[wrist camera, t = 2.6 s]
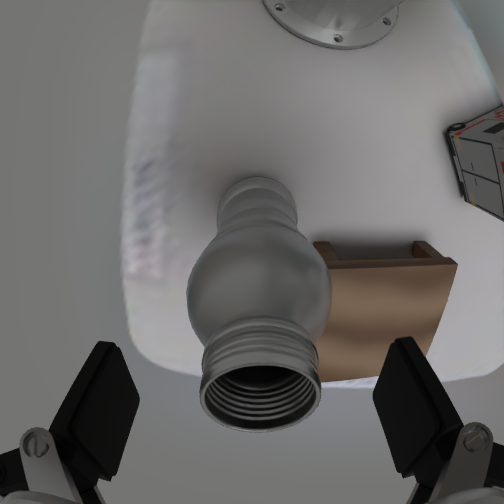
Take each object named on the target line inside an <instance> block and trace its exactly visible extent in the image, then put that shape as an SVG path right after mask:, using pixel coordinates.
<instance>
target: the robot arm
mask: <svg viewBox="0 0 504 504" xmlns="http://www.w3.org/2000/svg"><path fill="white" fill-rule="evenodd" d="M403 1H405V0H263V2H264V4H265V6H266V7H267V9H268V11H269V12H270V13H271V15H272V16H273V17H274V18H275V19H276V20H277V22H279V23H280V24H281V25H282V26H283V27H285V28H286V29H287V30H288V31H290V32H292V33H293V34H295V35H297V36H298V37H300V38H302V39H304V40H307V41H309V42H311V43H314V44H317V45H321V46H324V47H329V48H335V49H357V48H363V47H366V46H369V45H372V44H374V43H376V42H377V41H379V40H381V39H383V38H384V37H385V36H386V35H387V34H388V33H390V31H391V30H392V29H393V27H394V25H395V23H396V20H397V17H398V5H399V4H400V3H402V2H403ZM276 9H281V10H282V11H277V10H276ZM334 39H337V40H338V42H336V41H334ZM139 401H140V397H139V394H138V392H137V389H136V387H135V384H134V382H133V380H132V377H131V375H130V373H129V370H128V367H127V365H126V362H125V360H124V357H123V355H122V352H121V350H120V348H119V347H117V346H116V344H115V343H113V342H105V341H99V342H97V344H96V345H95V347H94V349H93V350H92V352H91V353H90V355H89V357H88V359H87V360H86V362H85V364H84V366H83V367H82V369H81V371H80V372H79V374H78V376H77V378H76V379H75V381H74V383H73V384H72V386H71V388H70V390H69V392H68V393H67V396H66V397H65V399H64V401H63V403H62V405H61V406H60V408H59V410H58V412H57V414H56V416H55V418H54V420H53V422H52V424H51V426H50V428H49V430H46V429H44V428H40V427H35V428H31V429H29V430H27V431H26V432H25V433H24V434H23V436H22V437H21V440H20V443H19V445H20V446H19V448H17V449H14V450H12V451H9V452H6V453H3V454H1V455H0V504H106V503H105V501H104V499H103V497H102V495H101V493H100V491H99V489H98V487H97V482H98V479H99V478H100V479H103V480H106V481H111V478H112V476H115V475H116V474H117V471H118V468H119V465H120V461H121V458H122V455H123V452H124V448H125V445H126V442H127V439H128V436H129V433H130V430H131V427H132V423H133V421H134V417H135V415H136V411H137V409H138V406H139ZM373 401H374V404H375V407H376V410H377V413H378V416H379V418H380V421H381V424H382V427H383V430H384V433H385V436H386V439H387V442H388V445H389V448H390V451H391V455H392V457H393V461H394V464H395V467H396V470H397V472H398V473H401V474H402V477H403V478H406V477H410V476H413V475H415V478H416V481H417V482H416V485H415V487H414V489H413V491H412V493H411V495H410V497H409V499H408V501H407V503H406V504H504V446H503V445H500V444H497V443H494V442H493V435H492V433H491V431H490V429H489V428H488V427H487V426H485V425H484V424H481V423H479V422H472V423H468V424H466V425H465V426H464V425H463V423H462V421H461V419H460V417H459V415H458V413H457V411H456V409H455V408H454V406H453V404H452V402H451V400H450V398H449V396H448V395H447V393H446V392H445V389H444V388H443V386H442V384H441V382H440V381H439V379H438V377H437V375H436V374H435V372H434V371H433V369H432V367H431V366H430V364H429V362H428V361H427V359H426V357H425V356H424V354H423V353H422V351H421V349H420V348H419V346H418V345H417V343H416V341H415V340H414V338H413V337H411V336H408V337H401V338H396V339H395V340H394V343H391V344H390V346H389V349H388V352H387V355H386V358H385V361H384V364H383V367H382V370H381V372H380V375H379V378H378V380H377V383H376V386H375V388H374V391H373Z"/></svg>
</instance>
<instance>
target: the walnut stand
mask: <svg viewBox="0 0 504 504" xmlns="http://www.w3.org/2000/svg"><path fill="white" fill-rule="evenodd" d="M314 248H315V249H316V250H317V251H318V252H319V254H320V256H321V257H322V258H323V260H324V262H325V264H326V266H327V268H328V270H329V272H330V276H331V280H332V308H331V313H330V317H329V321H328V323H327V325H326V327H325V329H324V331H323V333H322V334H321V336H320V337H319V339H318V341H317V342H316V343H315V344H316V348H317V352H318V357H319V366H318V372H319V377H320V382H332V381H342V380H351V379H359V378H367V377H374V376H379V375H380V372H381V370H382V367H383V364H384V361H385V358H386V355H387V352H388V349H389V346H390V344H391V343H394V340H395V339H396V338H401V337H408V336H411V337H413V338H414V340H415V341H416V343H417V345H418V346H419V348H420V349H421V351H422V353H423V354H424V356H425V357H426V354H427V352H428V350H429V347H430V345H431V343H432V340H433V338H434V335H435V333H436V330H437V328H438V325H439V322H440V320H441V317H442V314H443V311H444V309H445V306H446V303H447V300H448V297H449V293H450V290H451V287H452V284H453V280H454V277H455V274H456V270H457V266H458V264H457V263H456V262H455V261H454V260H453V259H451V258H450V257H444V256H442V255H441V254H440V253H439V252H438V251H437V250H435V249H434V248H433V247H432V246H431V245H429V244H428V243H427V242H426V241H414V245H413V250H412V255H413V256H414V257H415V258H407V259H372V260H339V258H338V256H337V254H336V253H335V251H334V249H333V248H332V246H331V244H330V243H329V242H314Z"/></svg>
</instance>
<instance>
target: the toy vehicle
mask: <svg viewBox="0 0 504 504" xmlns="http://www.w3.org/2000/svg"><path fill="white" fill-rule="evenodd" d="M448 129H449V132H448V133H446V135H447V138H448V141H449V144H450V147H451V150H452V154H453V157H454V160H455V164H456V167H457V171H458V175H459V179H460V183H461V187H462V191H463V195H464V200H465V202H467V203H469V204H471V205H473V206H475V207H477V208H479V209H481V210H483V211H485V212H487V213H489V214H490V215H492V216H494V217H496V218H498V219H499V220H501V221H503V222H504V106H502V107H500V108H498V109H496V110H494V111H492V112H490V113H487V114H485V115H483V116H481V117H479V118H477V119H475V120H473V121H471V122H469V123H467V124H464V123H457V124H454V125H452V126H450V127H449V128H448Z"/></svg>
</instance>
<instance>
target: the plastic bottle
mask: <svg viewBox="0 0 504 504" xmlns="http://www.w3.org/2000/svg"><path fill="white" fill-rule="evenodd" d="M297 222H298V218H297V208H296V204H295V201H294V199H293V197H292V195H291V194H290V192H289V191H288V190H287V189H286V188H285V187H284V186H283V185H281V184H280V183H279V182H276V181H274V180H272V179H269V178H264V177H253V178H247V179H244V180H242V181H239V182H238V183H236V184H235V185H233V186H232V187H231V188H230V189H229V190H228V191H227V192H226V193H225V195H224V196H223V197H222V199H221V202H220V204H219V207H218V212H217V228H218V233H217V235H216V237H215V238H214V239H213V240H212V242H211V243H210V244H209V245H208V246H207V248H206V249H205V250H204V251H203V253H202V254H201V256H200V257H199V259H198V260H197V262H196V264H195V266H194V267H193V269H192V272H191V274H190V277H189V279H188V284H187V291H186V297H187V308H188V315H189V319H190V322H191V325H192V328H193V330H194V332H195V333H196V335H197V337H198V338H199V340H200V341H201V343H202V344H203V346H204V347H205V349H204V354H203V359H202V372H203V375H202V381H201V386H200V403H201V405H202V408H203V410H204V411H205V412H206V414H207V415H208V416H209V417H211V418H212V419H213V420H214V421H216V422H217V423H219V424H221V425H223V426H226V427H228V428H231V429H235V430H239V431H244V432H257V433H262V432H272V431H277V430H282V429H285V428H288V427H291V426H293V425H296V424H297V423H300V422H301V421H303V420H304V419H306V418H307V417H308V416H310V415H311V414H312V413H313V412H314V411H315V409H316V408H317V406H318V404H319V402H320V399H321V382H320V377H319V372H318V366H319V357H318V352H317V348H316V344H315V343H316V342H317V341H318V339H319V337H320V336H321V334H322V333H323V331H324V329H325V327H326V325H327V323H328V321H329V317H330V313H331V308H332V280H331V276H330V272H329V270H328V268H327V266H326V264H325V262H324V260H323V258H322V257H321V256H320V254H319V252H318V251H317V250H316V249H315V248H314V246H313V245H312V244H311V243H310V242H309V241H308V240H307V239H306V238H305V237H304V236H303V235H302V234H301V233H300V232H299V230H298V228H297Z"/></svg>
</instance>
